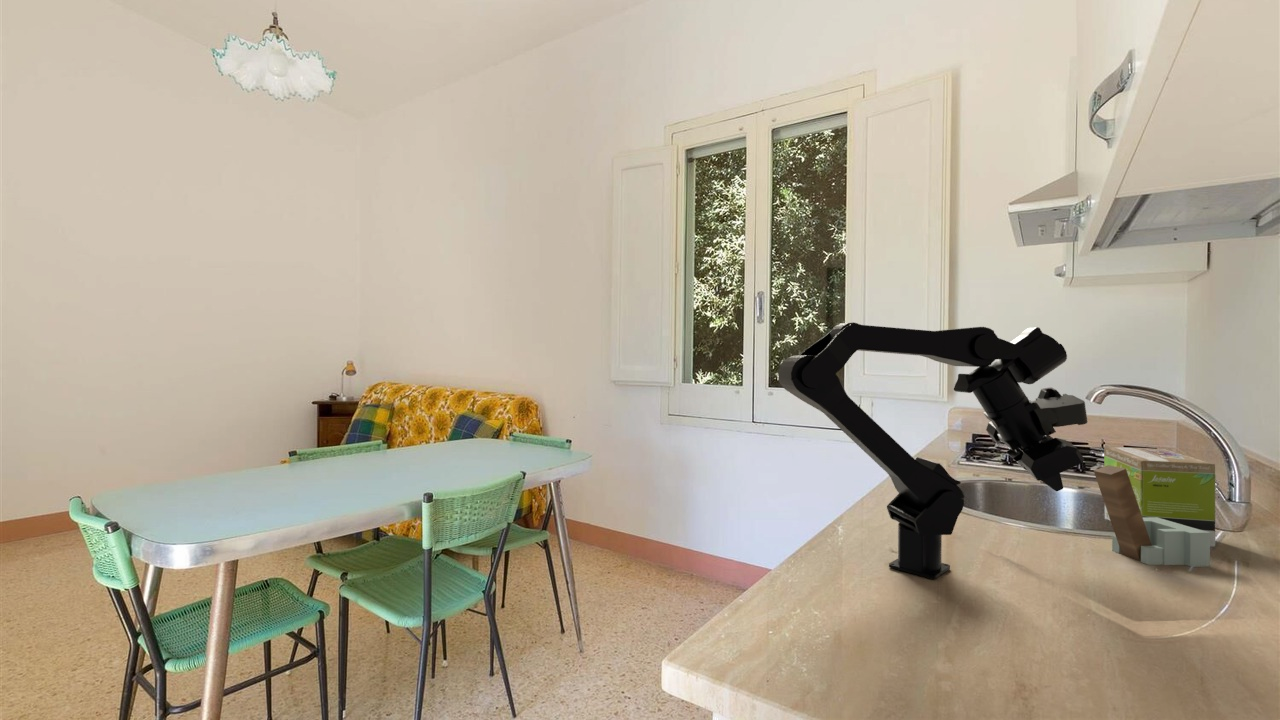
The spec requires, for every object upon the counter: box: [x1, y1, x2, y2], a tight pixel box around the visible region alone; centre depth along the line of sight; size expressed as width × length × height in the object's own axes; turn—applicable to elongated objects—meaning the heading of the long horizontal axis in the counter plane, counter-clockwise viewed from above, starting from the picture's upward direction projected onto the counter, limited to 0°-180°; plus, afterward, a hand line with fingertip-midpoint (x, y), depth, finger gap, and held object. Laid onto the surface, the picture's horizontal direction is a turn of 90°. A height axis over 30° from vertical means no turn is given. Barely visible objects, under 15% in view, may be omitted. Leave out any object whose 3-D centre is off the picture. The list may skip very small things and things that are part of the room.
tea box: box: [1103, 446, 1216, 547], centre depth 100 cm, size 15×10×15 cm, turn 161°
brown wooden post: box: [1093, 465, 1152, 562], centre depth 86 cm, size 2×3×14 cm
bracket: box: [1111, 517, 1211, 568], centre depth 87 cm, size 10×8×6 cm
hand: (1059, 489), depth 86 cm, fingers closed
